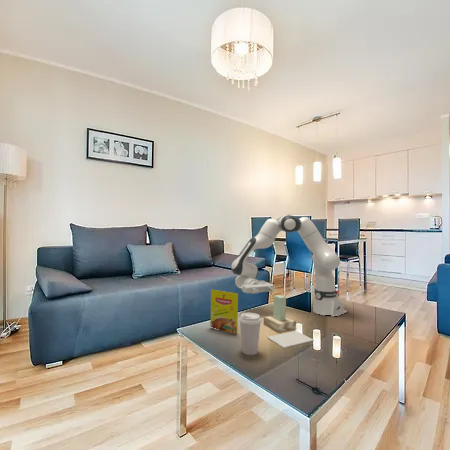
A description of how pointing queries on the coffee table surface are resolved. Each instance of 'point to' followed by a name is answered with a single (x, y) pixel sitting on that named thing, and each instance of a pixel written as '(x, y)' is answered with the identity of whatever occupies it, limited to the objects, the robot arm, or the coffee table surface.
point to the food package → (224, 311)
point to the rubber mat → (289, 339)
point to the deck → (279, 324)
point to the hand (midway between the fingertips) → (265, 291)
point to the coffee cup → (250, 332)
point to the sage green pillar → (279, 307)
